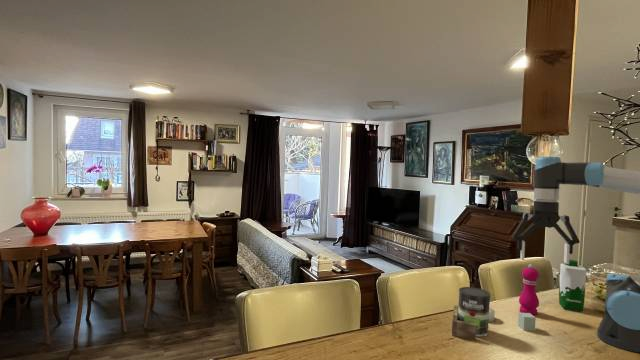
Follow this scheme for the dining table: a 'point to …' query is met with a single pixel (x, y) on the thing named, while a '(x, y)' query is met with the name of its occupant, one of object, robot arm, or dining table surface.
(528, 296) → the pepper mill
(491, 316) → the white glossy round part
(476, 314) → the coffee can
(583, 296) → the milk carton
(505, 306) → the dining table surface
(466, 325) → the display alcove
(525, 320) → the sage block
